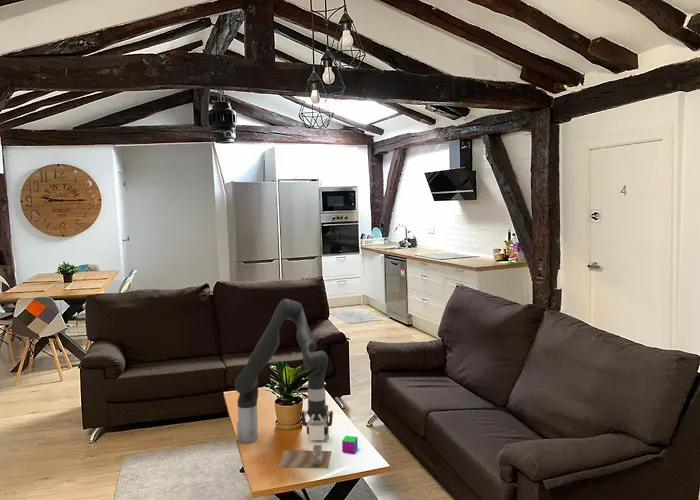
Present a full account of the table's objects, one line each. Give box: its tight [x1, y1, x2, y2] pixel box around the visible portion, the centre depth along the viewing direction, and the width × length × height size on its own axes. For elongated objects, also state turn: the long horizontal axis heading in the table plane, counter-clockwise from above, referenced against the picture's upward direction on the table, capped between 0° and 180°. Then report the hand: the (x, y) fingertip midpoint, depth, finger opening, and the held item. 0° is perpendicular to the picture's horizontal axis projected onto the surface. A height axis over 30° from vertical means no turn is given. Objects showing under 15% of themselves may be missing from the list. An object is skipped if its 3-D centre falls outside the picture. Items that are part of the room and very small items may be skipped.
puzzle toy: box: [341, 435, 359, 455], centre depth 252 cm, size 6×6×6 cm
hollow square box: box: [308, 420, 325, 441], centre depth 237 cm, size 6×6×6 cm
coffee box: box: [311, 405, 330, 444], centre depth 263 cm, size 9×6×16 cm
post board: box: [276, 444, 333, 469], centre depth 242 cm, size 22×16×8 cm
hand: (317, 434), depth 238 cm, fingers closed on hollow square box, 6 cm apart
